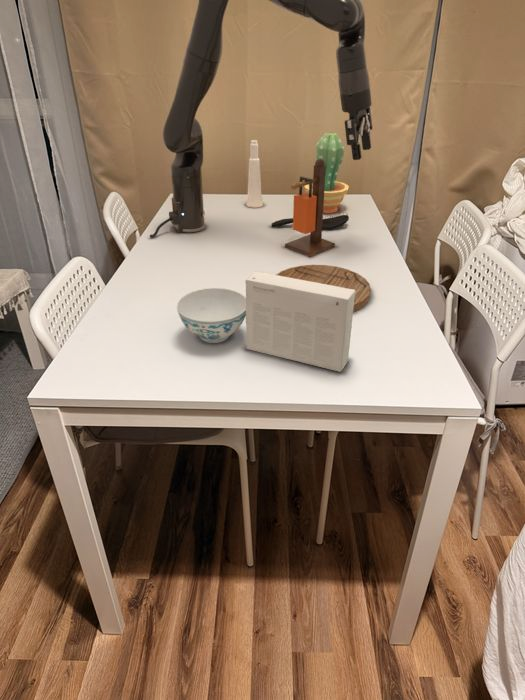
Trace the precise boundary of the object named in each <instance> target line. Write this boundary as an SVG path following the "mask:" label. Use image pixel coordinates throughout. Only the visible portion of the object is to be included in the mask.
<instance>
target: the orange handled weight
mask: <svg viewBox="0 0 525 700" xmlns="http://www.w3.org/2000/svg"><path fill="white" fill-rule="evenodd" d="M312 179H313V178H309V177H305V176H299V182H303V181H308V182H309V194H307V192H305V191H304V192H303V186H302V187H298V193H297V194H294V195H293V211H292V213H293V214H292V218H293V223H292V230H293V231H295V232H298V233H301V234H303V235H308V234H310V232H313V231H315V219H316V201H317V196H314V195H312Z"/></svg>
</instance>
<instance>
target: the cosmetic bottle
mask: <svg viewBox="0 0 525 700" xmlns="http://www.w3.org/2000/svg"><path fill="white" fill-rule="evenodd" d="M247 178H248V179H247V181H248V182H247V196H246V207H248V208H252V209H253V208H255V209H256V208H257V209H258V208H261V207H263V206H264V202H263V195H262V179H261V159H260V158H259V143H258V140H257V139H251V140H250V144H249V158H248V177H247Z"/></svg>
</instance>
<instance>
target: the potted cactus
mask: <svg viewBox="0 0 525 700" xmlns="http://www.w3.org/2000/svg"><path fill="white" fill-rule="evenodd" d="M344 153H345V146H344V144H343V142H342V139H341V138H340V136H339V134H338V133H337V132H335V133H332V132H328V133H326V132H325V133H324V134H323V135H322V137H320V140H319V141H317V143H316V160H318V159H323V160H324V161H325V166H326V173H325V189H324V205H323V214H333V213H334V214H335V213H336V212H338V210H339V206H340V205H341V204H342V203H343V201H344V198H345V196H346V194H348V192H349V186H350V185H348V184H346V183H345V182H342V181H338V180H337V178H338V172H339V169H340V166H341V164H342V163H343V160H344ZM304 192H305V193H307V194H309V185H305V186H304ZM312 192H313V183H312Z"/></svg>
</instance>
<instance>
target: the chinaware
mask: <svg viewBox="0 0 525 700" xmlns="http://www.w3.org/2000/svg"><path fill="white" fill-rule="evenodd" d="M176 310H177V313H178V315H179V316H178V317H179V318H180V320H181V322H182V323H183V325H184V327H185V328H186V329H187V330H188V331H189V332H191V333H192V334H193V335H195V336H197V337H199V339H200V340H201V341H203V342H205V343H210V344H217V343H222V342H225V341H226V340H227V339H229V338H230V336H231V335H232V334H234V333H235V332H236V331H237V330H238V329H239V328H240V327H241V326H242V325H243V323H244V321H245V320H246V295H244V294H242V293H241V292H238V291H236V290H233V289H229V288H224V287H223V288H222V287H208V288H202V289H197V290H193V291H191V292H188V293H187V294H184V295H183V296H182V297H180V299H179V300H178V301H177V303H176Z"/></svg>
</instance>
